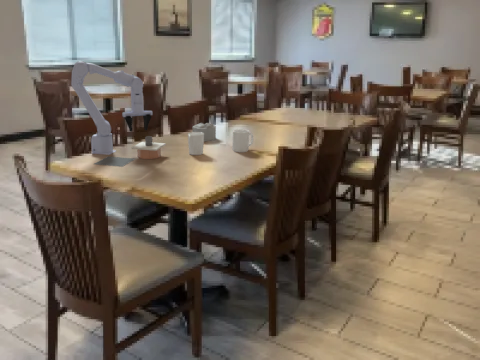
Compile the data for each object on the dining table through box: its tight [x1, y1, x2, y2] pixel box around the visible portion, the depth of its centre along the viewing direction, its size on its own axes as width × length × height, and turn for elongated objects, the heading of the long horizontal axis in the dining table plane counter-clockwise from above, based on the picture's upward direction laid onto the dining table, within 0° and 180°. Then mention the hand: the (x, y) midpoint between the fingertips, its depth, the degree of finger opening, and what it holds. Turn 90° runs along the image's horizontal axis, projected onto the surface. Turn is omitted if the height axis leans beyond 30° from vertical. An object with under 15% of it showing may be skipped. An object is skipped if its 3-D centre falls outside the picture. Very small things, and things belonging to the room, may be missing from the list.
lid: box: [131, 135, 167, 151], centre depth 212 cm, size 12×12×5 cm
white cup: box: [187, 131, 205, 156], centre depth 221 cm, size 8×8×10 cm
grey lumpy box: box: [191, 122, 217, 142], centre depth 253 cm, size 10×13×9 cm
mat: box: [93, 155, 136, 168], centre depth 204 cm, size 14×14×1 cm
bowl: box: [136, 148, 162, 160], centre depth 213 cm, size 10×10×5 cm
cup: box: [231, 128, 254, 153], centre depth 230 cm, size 8×12×10 cm
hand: (138, 130), depth 221 cm, fingers open, 7 cm apart
